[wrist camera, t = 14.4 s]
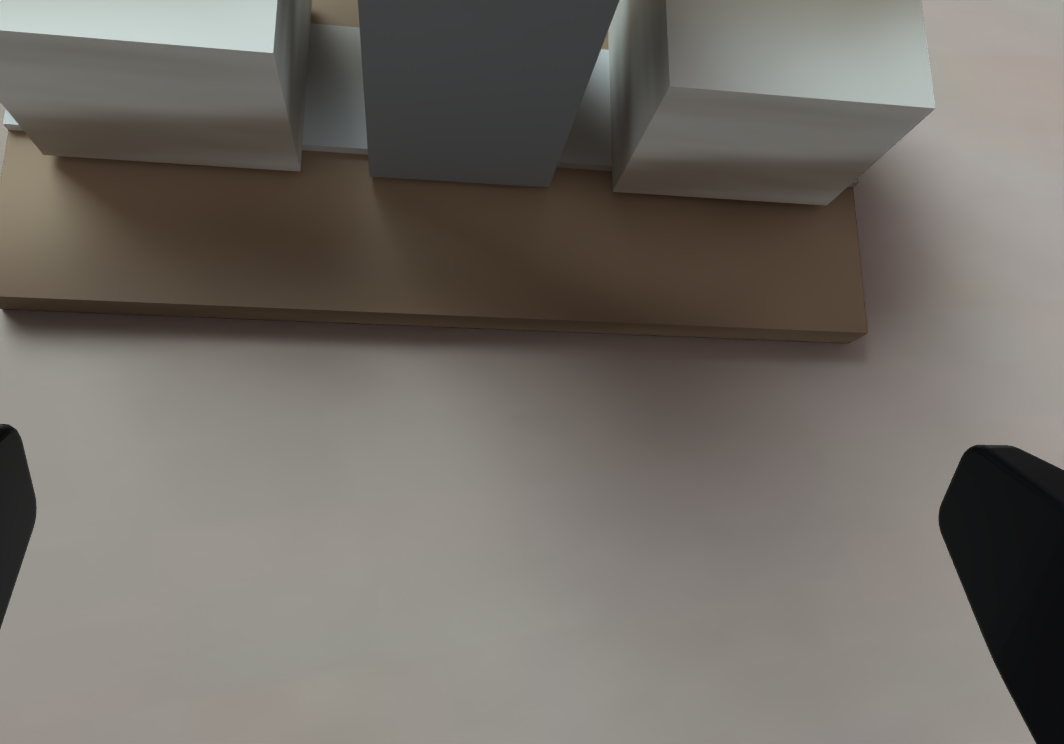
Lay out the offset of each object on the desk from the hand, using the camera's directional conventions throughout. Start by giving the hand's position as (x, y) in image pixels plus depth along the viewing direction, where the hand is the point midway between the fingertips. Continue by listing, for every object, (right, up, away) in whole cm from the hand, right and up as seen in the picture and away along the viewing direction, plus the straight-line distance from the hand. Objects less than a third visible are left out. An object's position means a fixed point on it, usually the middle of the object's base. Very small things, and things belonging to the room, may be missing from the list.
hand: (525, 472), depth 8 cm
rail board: (-2, +8, +16) cm, 18 cm away
